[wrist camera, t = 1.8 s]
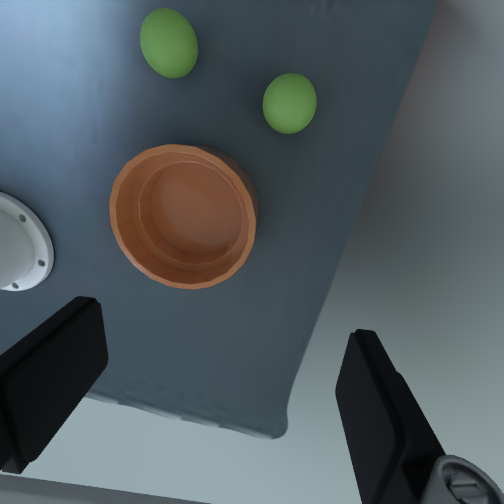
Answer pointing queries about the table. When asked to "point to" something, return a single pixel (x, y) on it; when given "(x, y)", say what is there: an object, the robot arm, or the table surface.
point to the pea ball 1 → (168, 43)
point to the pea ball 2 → (289, 103)
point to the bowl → (184, 214)
